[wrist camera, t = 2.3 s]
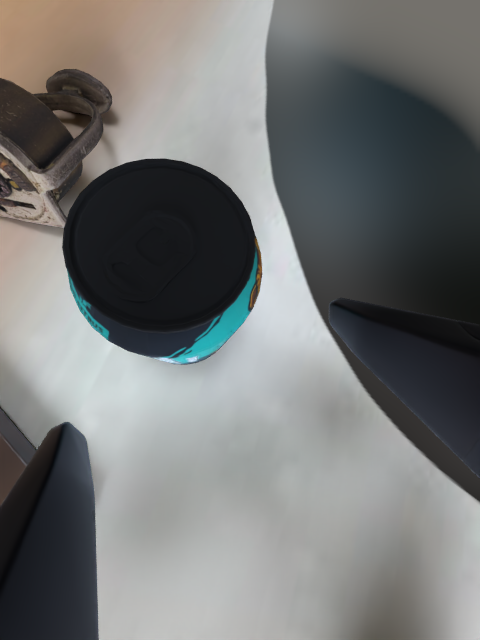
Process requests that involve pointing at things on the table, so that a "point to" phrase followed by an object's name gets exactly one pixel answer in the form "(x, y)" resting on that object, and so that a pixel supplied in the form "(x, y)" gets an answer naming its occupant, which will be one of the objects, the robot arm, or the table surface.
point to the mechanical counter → (45, 144)
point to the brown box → (12, 454)
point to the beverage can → (162, 259)
